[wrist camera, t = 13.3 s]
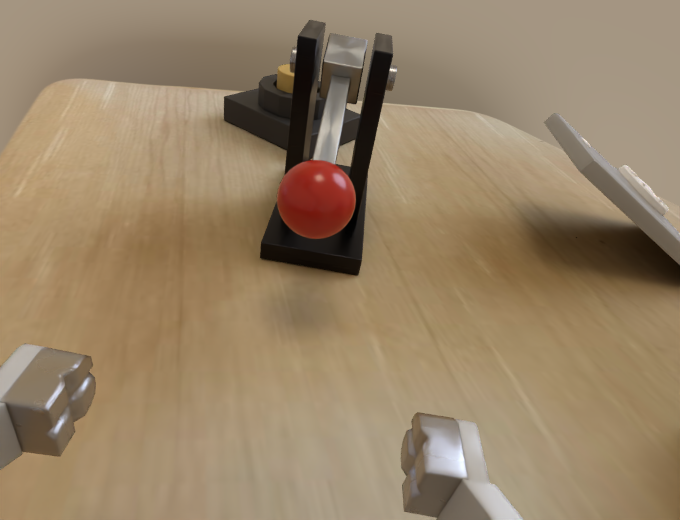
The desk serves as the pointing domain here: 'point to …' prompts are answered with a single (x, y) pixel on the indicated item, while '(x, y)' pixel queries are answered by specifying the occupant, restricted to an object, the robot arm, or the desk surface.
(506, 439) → the desk surface
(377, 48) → the gas tap
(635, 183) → the light switch
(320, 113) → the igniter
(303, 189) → the lever
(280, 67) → the button
